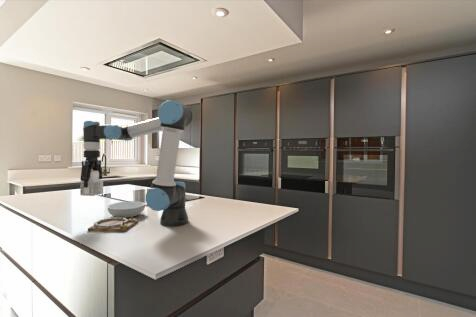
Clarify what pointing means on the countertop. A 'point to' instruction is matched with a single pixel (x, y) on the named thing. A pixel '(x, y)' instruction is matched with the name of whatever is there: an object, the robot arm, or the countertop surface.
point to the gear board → (113, 225)
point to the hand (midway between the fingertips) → (92, 192)
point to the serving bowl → (126, 209)
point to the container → (93, 185)
